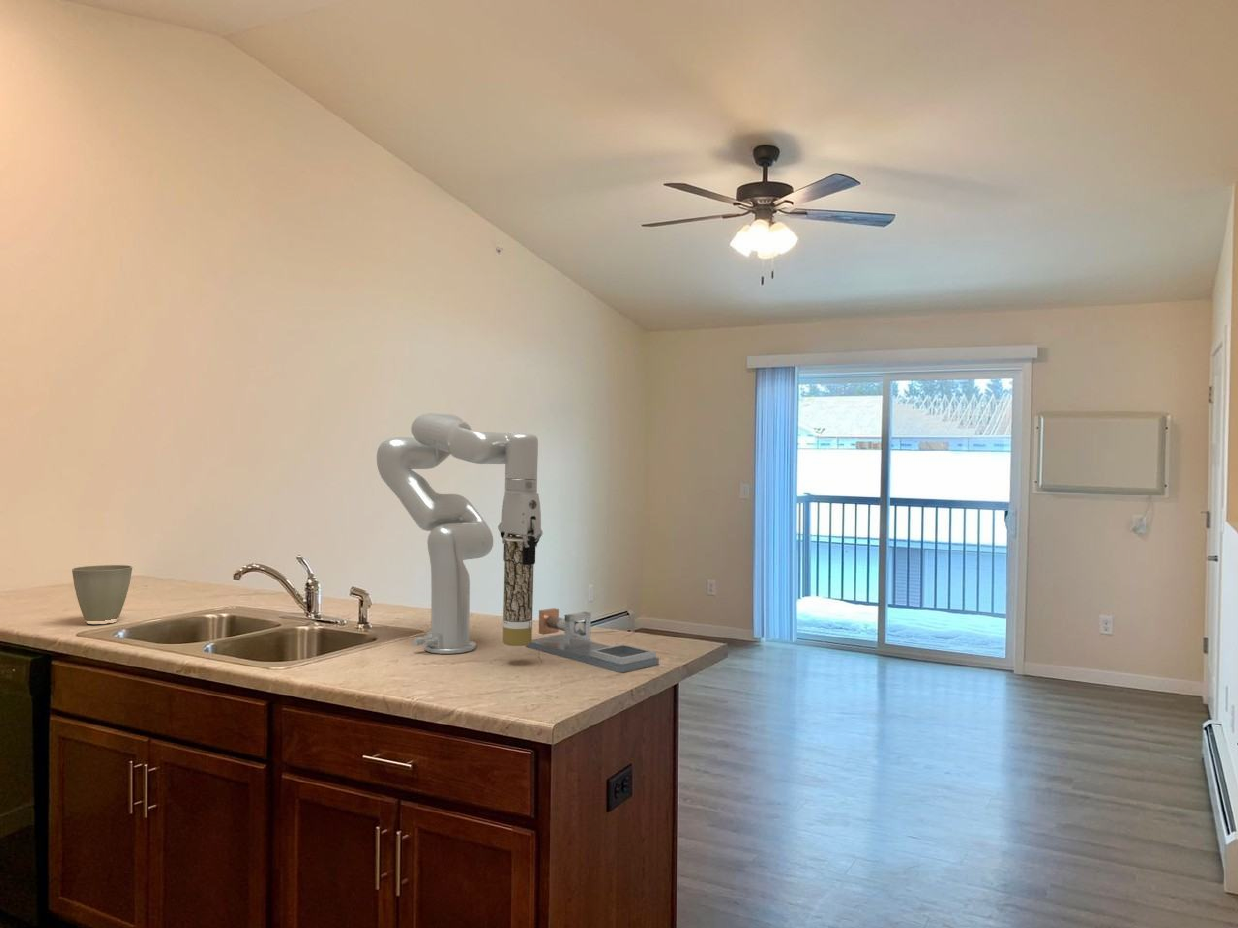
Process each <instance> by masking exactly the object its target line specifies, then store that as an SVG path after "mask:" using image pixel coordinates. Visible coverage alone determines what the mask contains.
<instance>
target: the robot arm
mask: <svg viewBox="0 0 1238 928" xmlns="http://www.w3.org/2000/svg"><path fill="white" fill-rule="evenodd" d="M410 429H411V430H410V431H411V435H412V436H397V437H392V438H391V437H390V438H387V439H386V440H384V441H383V442H382V443H380V445H379V446H378V448H377V452H376V465H377V469H378V473H379V476H380V477H381V479H382V480H383V482H384V483H385V485H386V486H387V487H388V488H389V489H390V491H391V492H393V494H394V495H395V496H396V497H397V498H398V499H399V501H400V503H401V504H402V505H403V507H404V508H405V510H406V511H407V512H408V514H409V515H410V517H411V518H412V520H413V521H414V522H415V524H416V525H417V526H418V527H419V529H421V530H423V531H426V532H429V534H428V536H427V541H426V542H427V551H428V556H429V562H430V563H429V564H430V572H431V573H430V574H431V575H430V576H431V577H430V579H431V581H430V583H431V585H430V586H431V588H430V589H431V593H430V594H431V598H430V599H431V604H430V605H431V607H430V609H431V613H430V614H431V615H430V616H431V618H430V619H431V621H430V623H431V624H430V629H431V630H429V631H427V633H426V634H425V635H424V636H417V637H413V639H412V640H413V642H412V643H413V645H414V646H416V647H417V646H422V645H423V646H424V650H425V651H426V652H427V653H431V654H441V655H445V654H447V655H448V654H449V655H450V654H452V655H453V654H461V653H463V654H464V653H466V652H468V653H469V652H471V651H473V650H475V649H476V648H477V646H476V642H475V641H473V640H470V618H471V617H470V614H471V613H470V611H471V610H470V609H471V608H470V604H471V602H470V601H471V598H470V597H471V593H470V592H471V590H470V589H471V586H470V585H471V580H470V579H471V578H470V574H469V571H468V569H467V567H466V565H465V563H464V561H466V560H473V559H481V558H484V557H486V556H488V554H490V552H491V551H492V550H493V547H494V536H493V532H492V531H491V528H490V527H489V525H488V524H487V522H486V521H485V520H484V518H483V517H482V516H481V514H480V513H479V512H478V511H477V509H476V508H475V506H474V505H473V504H472V502H471V501H470V500H469V499H467V498H466V497H465V496H463V495H461V494H459V493H440V492H436V491H435V490H434V489H433V488H432V486H431V485H430V483H429V482H428V481H427V480H426V478H424V477H423V476H422V475H420V474H419V473H417V472H415V471H414V470H431V469H434V468H436V467H438V466H439V465H440V464H442V463H443V462H444V461H445V460H446V459H448V458H449V457H450V456H452V457H453V458H456V459H458V460H461V461H465V462H468V463H472V464H476V465H504V466H505V467H504V495H503V499H502V505H501V507H502V508H501V518H500V520H501V521H500V522H499V524H498V526H497V528H498V531H499V534H500V537H501V538H502V541H501V542H502V544H503V555H502V556H503V557H502V558H503V561H504V559H505V537H509V536H522V537H523V541H524V545H525V547H524V548H523V565H531V564H534V565H535V564H536V548H538V543H539V541H540V539H541V537H542V535H543V533H544V532H543V530H542V519H541V518H542V517H541V516H542V514H541V502H540V501H541V500H540V495H539V493H537V491H538V488H537V487H538V458H539V457H538V455H539V454H538V451H539V450H538V449H539V441H538V437H537V436H536V435H534V434H531V433H530V434H529V433H509V432H508V433H507V432H492V431H491V432H490V431H476V430H472V427H471V426H470V425H469V423H467V422H466V421H464V420H463V419H462V418H461V417H460V416H458V415H454V414H451V413H450V414H449V413H436V412H435V413H434V412H433V413H432V412H431V413H430V412H429V413H424V414H423V413H422V414H420V415H419V416H417V417H416V418H415V419H414V420H413V422H412V424H411V428H410ZM528 538H530V540H529V541H528Z"/></svg>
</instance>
